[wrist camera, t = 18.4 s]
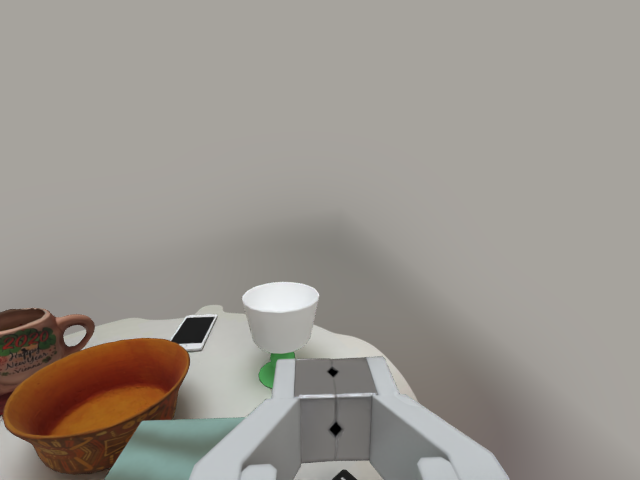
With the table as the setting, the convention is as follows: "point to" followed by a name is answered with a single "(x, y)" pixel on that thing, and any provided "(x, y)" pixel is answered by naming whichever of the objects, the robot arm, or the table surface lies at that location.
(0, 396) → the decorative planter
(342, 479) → the multiport hub
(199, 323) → the cell phone
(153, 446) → the green flat panel
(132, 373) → the bowl
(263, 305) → the cup
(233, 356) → the table surface
